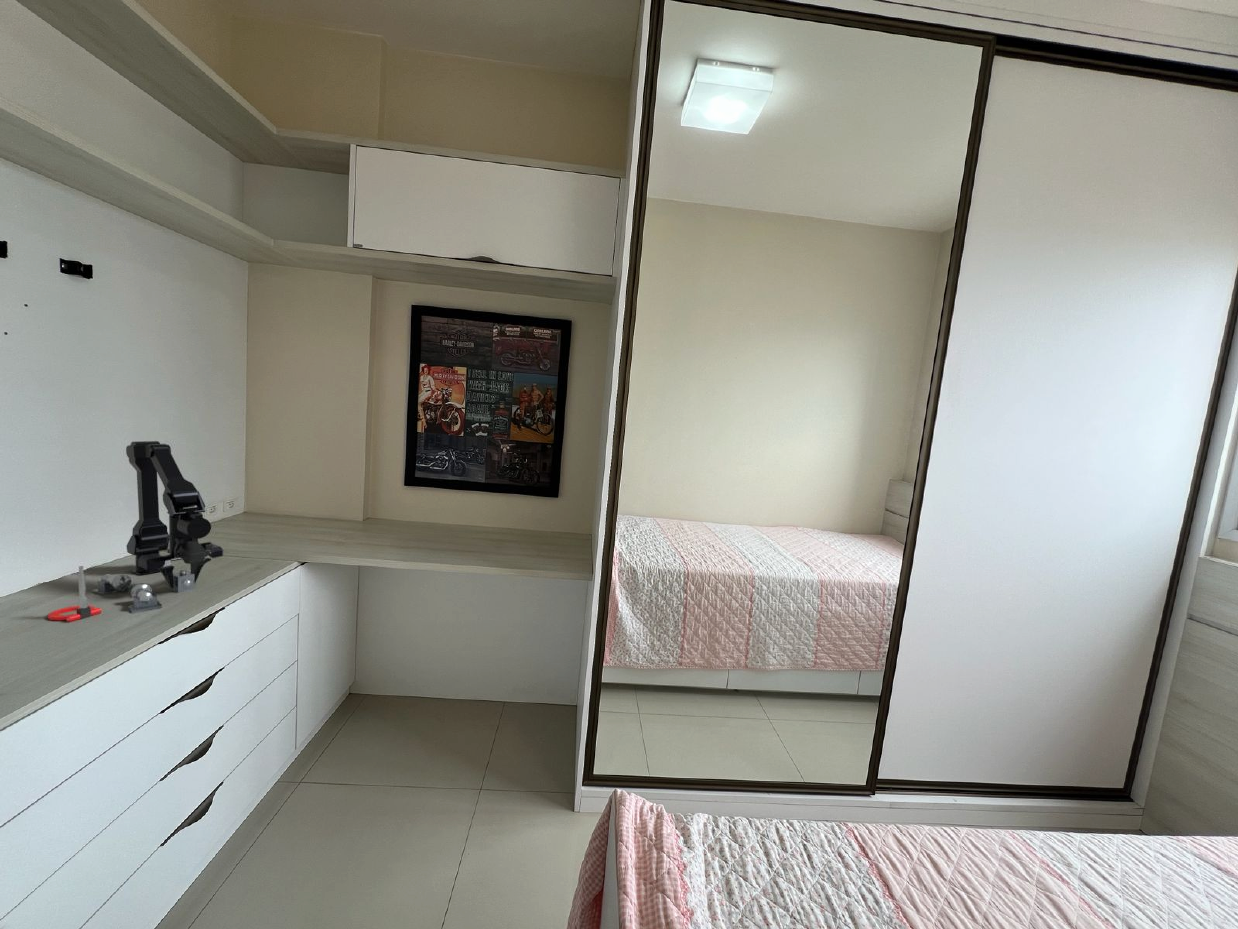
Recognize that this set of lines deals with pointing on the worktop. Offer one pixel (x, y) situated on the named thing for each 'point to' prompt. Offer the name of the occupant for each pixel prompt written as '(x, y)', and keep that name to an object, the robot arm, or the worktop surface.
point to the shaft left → (112, 584)
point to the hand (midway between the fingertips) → (182, 585)
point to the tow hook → (81, 610)
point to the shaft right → (143, 599)
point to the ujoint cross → (183, 581)
